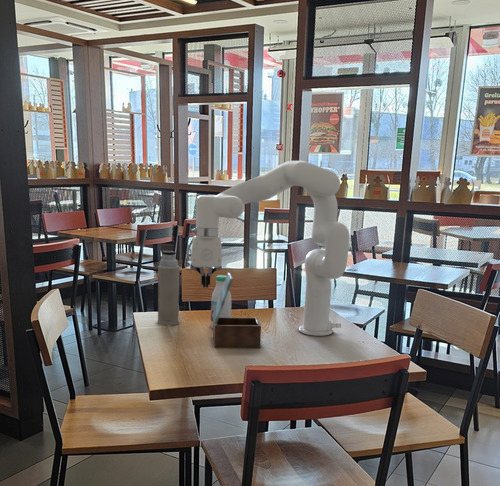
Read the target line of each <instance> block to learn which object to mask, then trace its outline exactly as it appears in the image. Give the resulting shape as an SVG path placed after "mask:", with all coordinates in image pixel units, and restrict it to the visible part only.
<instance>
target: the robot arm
mask: <svg viewBox="0 0 500 486" xmlns="http://www.w3.org/2000/svg"><path fill="white" fill-rule="evenodd" d="M294 186H295V187H301V188H303V190H304V191H305V192H306V193H307V194H308V195H309V196H310V198H311V200H312V202H313V218H312V228H311V240H312V241H313V243H315V244H316V245H317V246H321V247H325V248H324V249H323V248H315V249H312V250H310V251H308V253H307V254H306V256H305V260H304V270H305V293H304V310H303V324H302V325H300V326H299V327H298V331H299V332H300V333H302V334H304V335H308V336H315V337H316V336H317V337H322V336H329V335H331V334H333V329H334V328H335V329H341V328H342V323H341V322H336V321H331V320H330V309H331V295H332V280H336V279H340V278H341V277H342V276H343V275H344V273H345V272H346V269H347V266H348V265H347V264H348V258H349V249H350V241H351V237H350V236H351V235H350V231H349V229H348V227H347V226H346V224H344V223H342V222H339V221H338V210H339V209H338V208H339V205H338V200H337V197H336V194H337V193H338V192H339V190H340V187H341V180H340V177H339V176H338V175H337V173H335V172H333V171H331V170H329V169H326V168H323V167H321V166H318V165H316V164H313V163H311V162H308V161H305V160H287V161H284V162H283V163H281V164H279V165H277V166H275V167H273V168H271V169H270V170H267V171H266V172H264V173H261V174H259V175H258V176H256V177H253V178H250V179H248V180H246V181H243V182H241V183H239V184H236V185H234V186H231V187H229V188H227V189H225V190H223V191H222V192H220V193H218V194H217V195H210V194H202V195H198V196H197V197H196V202H195V203H196V204H195V205H196V206H195V228H191V230H190V232H191V234H194V236H193V238H192V243H191V250H190V251H191V253H190V254H191V255H190V265H189V268H190V269H189V270H192V271H196V272H197V273H198V274H199V275H200V277H201V278H200V280H201V281H200V285H202V288H204V289H205V288H207V289H208V288H209V286H210V285H211V276H212V275H213V274H214V273H215V272H218V271H222V269H223V267H222V262H223V257H222V256H223V255H222V254H223V253H222V251H223V249H222V239H221V237H220V236H219V225H220V223H219V222H220V220H219V219H220V218H226V219H237V218H239V217H241V216H242V214H243V213H244V210H245V205H247V204H251V203H257V202H263V201H267V200H270V199H272V198H274V197H275V196H277V195H279V194H281V193H283V192H285V191H286V190H288V189H290V188H292V187H294ZM205 268H207V272H205Z"/></svg>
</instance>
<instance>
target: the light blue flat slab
mask: <svg viewBox="0 0 500 486" xmlns="http://www.w3.org/2000/svg"><path fill="white" fill-rule="evenodd" d="M226 276H227V277H226V279H225V282H224V285H223V288H222V290H221V293H220V296H219V299H218V301H217V304H216V307H215V310H214V312H213V315H212V316H213V321H214V324H217V322H218V319H219V316H220V314H221V311H222V308H223V305H224V303H225V300H226V297H227V294H228V292H229V291H230V289H231V286H232V283H233V280H234V278H233V276H232V273H231V272H227V274H226Z"/></svg>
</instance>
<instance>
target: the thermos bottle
mask: <svg viewBox="0 0 500 486" xmlns="http://www.w3.org/2000/svg"><path fill="white" fill-rule="evenodd" d="M176 254H177V253H176V251H173V250H164V251H162V258H161V259H160V260H159V265H158V267H157V272H158V273H157V274H158V275H157V324H158V325H160V326H170V327H171V326H177V325H179V321H180V317H179V316H180V305H179V303H180V302H179V301H180V265H179V262H178V260H177V258H176Z"/></svg>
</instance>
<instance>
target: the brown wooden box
mask: <svg viewBox="0 0 500 486" xmlns="http://www.w3.org/2000/svg"><path fill="white" fill-rule="evenodd" d="M261 338H262V325H261V323H260V321H259V318H258V317H233V316H231V317H219V319H218V322H217V324H214V321H213V328H212V341H213V346H214V349H227V348H228V349H261V340H262V339H261Z"/></svg>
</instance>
